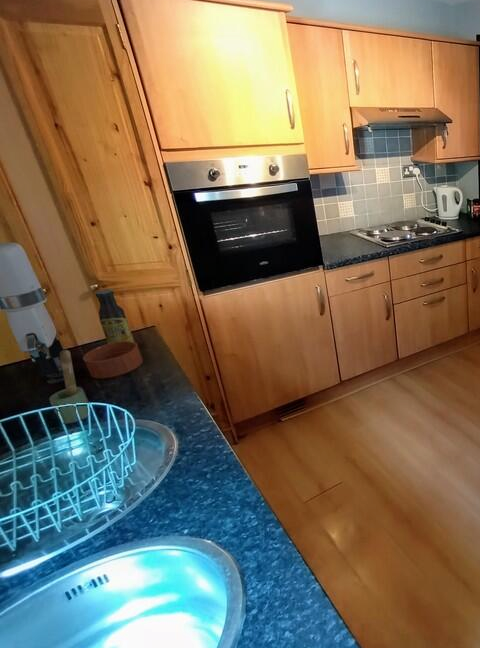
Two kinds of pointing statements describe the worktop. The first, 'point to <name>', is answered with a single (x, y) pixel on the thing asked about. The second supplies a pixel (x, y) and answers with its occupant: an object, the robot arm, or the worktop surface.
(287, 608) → the worktop surface
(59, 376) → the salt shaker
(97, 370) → the bowl
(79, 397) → the holder
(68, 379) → the stick
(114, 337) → the sauce bottle
